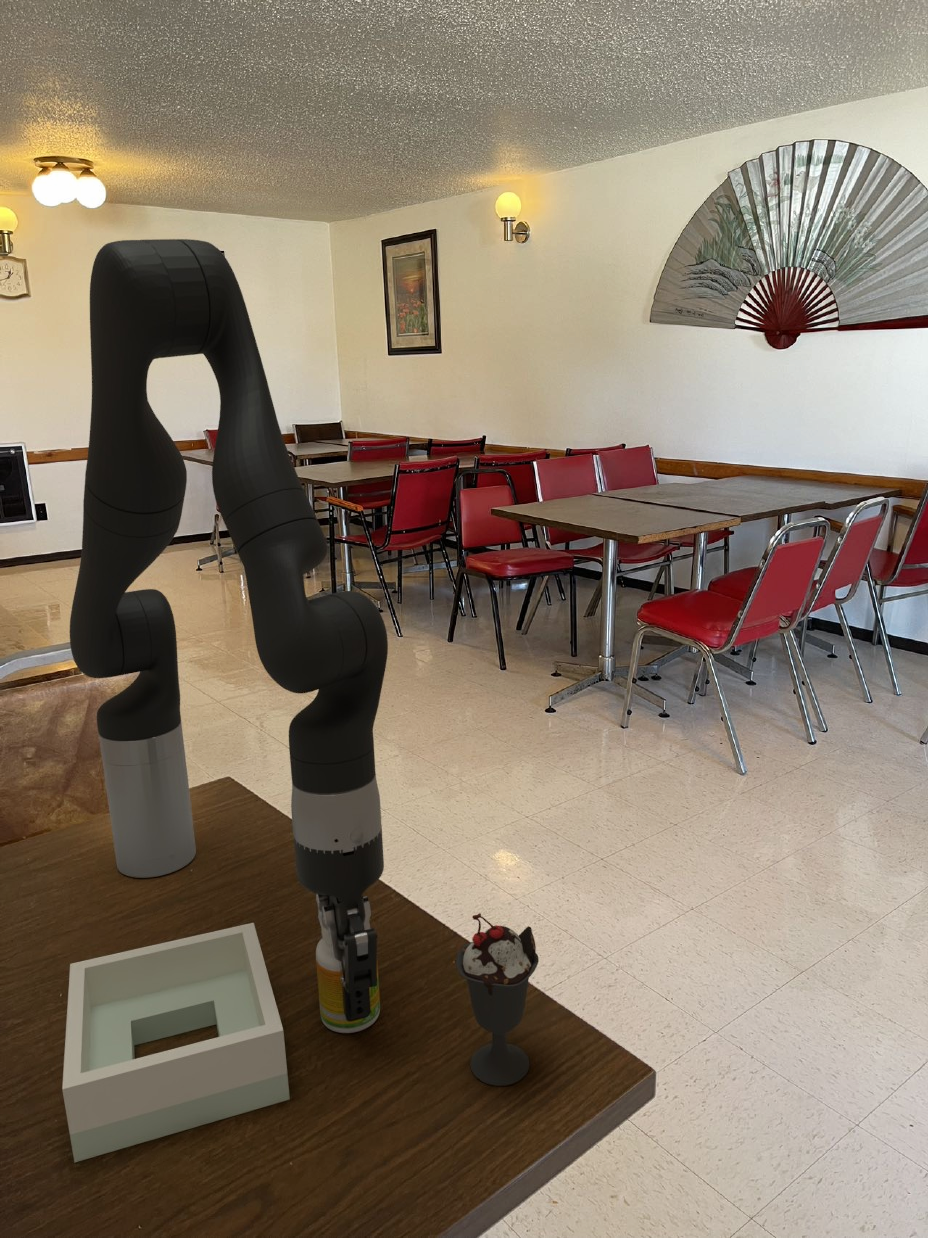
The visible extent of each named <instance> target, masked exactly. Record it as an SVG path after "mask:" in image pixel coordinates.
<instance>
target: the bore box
mask: <svg viewBox="0 0 928 1238" xmlns="http://www.w3.org/2000/svg"><path fill="white" fill-rule="evenodd" d="M263 955H264V954H263V952H262V949H261V944H260V940H259V938H258V934H257V929H256V926H255V923H254V922H251V923H245V924H241V925H237V926H232V927H228V928H224V929H223V928H222V929H220V930H215V931H210V932H206V933H202V934H201V933H200V934H197V935H192V936H188V937H183V938H179V939H178V938H177V939H175V940H170V941H165V942H161V943H157V944H152V945H148V946H144V947H139V948H134V949H129V950H125V951H122V952H118V953H112V954H109V955H108V954H107V955H103V956H99V957H94V958H90V959H86V960H82V961H81V960H80V961H78V962H73V963H70V965H69V976H68V977H69V979H68V981H69V982H68V995H67V1009H66V1010H67V1011H66V1012H67V1013H66V1024H65V1025H66V1026H65V1044H64V1056H63V1073H62V1087H61V1091H62V1096H63V1100H64V1101H63V1102H64V1106H65V1113H66V1120H67V1125H68V1131H69V1132H68V1133H69V1138H70V1144H71V1149H72V1156H73V1161H74V1163H78V1162H81V1161H85V1160H88V1159H91V1158H95V1157H98V1156H102V1155H104V1154H108V1153H112V1152H116V1151H118V1150H123V1149H125V1148H129V1147H132V1146H135V1145H138V1144H142V1143H145V1142H146V1143H147V1142H150V1141H154V1140H157V1139H160V1138H163V1137H166V1136H169V1135H173V1134H176V1133H177V1134H178V1133H180V1132H184V1131H186V1130H190V1129H193V1128H197V1127H201V1126H203V1125H207V1124H210V1123H214V1122H217V1121H220V1120H224V1119H227V1118H232V1117H234V1116H238V1115H242V1114H245V1113H248V1112H252V1111H255V1110H258V1109H262V1108H265V1107H268V1106H272V1105H275V1104H279V1103H282V1102H285V1101H289V1100H291V1099H290V1089H289V1087H290V1086H289V1077H288V1068H287V1067H288V1065H287V1058H286V1057H287V1056H286V1045H285V1035H284V1033H285V1031H284V1027H283V1024H282V1021H281V1016H280V1014H279V1009H278V1006H277V1002H276V1000H275V995H274V991H273V988H272V984H271V982H270V978H269V977H270V976H269V974H268V970H267V967H266V964H265V963H266V962H265V959H264V956H263ZM215 1025H216V1029H217V1035H218V1036H217V1037H213V1038H210V1039H206V1040H205V1039H204V1040H201V1041H198V1042H194V1043H191V1044H187V1045H183V1046H179V1047H175V1048H172V1049H168V1050H164V1051H160V1052H157V1053H151V1054H148V1055H145V1056H141V1057H137V1058H135V1057H136V1055H135V1046H138V1045H141V1044H145V1043H149V1042H153V1041H156V1040H160V1039H164V1038H168V1037H172V1036H176V1035H181V1034H184V1033H188V1032H192V1031H196V1030H199V1029H203V1028H207V1027H211V1026H215Z"/></svg>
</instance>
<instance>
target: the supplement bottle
mask: <svg viewBox="0 0 928 1238" xmlns="http://www.w3.org/2000/svg"><path fill="white" fill-rule="evenodd" d="M320 928H321V936H322V938H321V939H319V941H318V943H317V945H316V949H315V961H316V962H315V963H316V976H317V987H318V999H319V1012H320V1013H319V1014H320V1019H321V1021H322V1022H321V1023H323V1025H324V1026H325V1027H326V1028H327V1029H329V1030H331V1031H332V1032H335V1033H340V1034H351V1033H352V1034H353V1033H356V1032H357V1033H358V1032H361V1031H363V1030H366V1029H367V1028H370V1026H372V1025H373V1024H374V1023H375V1022H376V1021H377V1019H378V1018H379V1015H380V1011H381V997H380V996H381V995H380V981H379V968H378V967H379V966H378V965H379V964H378V962H377V986H375V987H369V993H370V1009H371V1013H370V1015H369V1016H368V1017H366V1018H363V1019H359V1020H355V1021H351V1022H349V1021H347V1020H346V1017H345V1015H344V1005H343V991H342V983H341V982H340V977H341V974H340V967H339V961H338V960H336V959H335V958H334V957H333V956H332V953H331V946H330V939H329V932H328V926H327V925H326V924H325V923H324V918H323V919H322V922H321V925H320ZM343 942H344V941H340V940H338V945H339V947H344V945H343Z"/></svg>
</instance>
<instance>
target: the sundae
mask: <svg viewBox="0 0 928 1238" xmlns="http://www.w3.org/2000/svg"><path fill="white" fill-rule="evenodd" d="M471 917H472V919H473V920H474V921H475V920H476V921H478V930H477V932H476V933H474V934H473V936H472V939H471V940H472V941H471V942H469V943H467V944H464V945H463V946H461V948H460V949H459V951H458V953H457V955H456V969H457V972H458V974H459V975H460V976H461V978H463V979H465V980H466V982H467V985H468V990H469V996H470V1001H471V1008H472V1011H473V1015H474V1019H475V1021H476V1022H477V1023H476V1024H478V1025H479V1026H480V1027H481V1028H483V1029H484V1030H485V1031H486V1032H489V1033H491V1034H492V1035H491V1037H492V1042H490V1043H487V1044H485V1045H483V1046H481V1047H478V1049H477V1050H476V1051H475V1052H474V1053H473V1054H472V1057H471V1058H470V1060H469V1061H470V1063H469V1064H470V1065H469V1066H470V1071H471V1072H472V1074H473V1075H474V1076H475V1078H476V1079H478V1080H479V1081H480V1082H483V1083H484V1084H487V1085H490V1086H494V1087H504V1086H505V1087H506V1086H510V1085H513V1084H515V1083H517V1082H519V1081H521V1080H522V1079H523V1078H524V1077H526V1075H527V1073H528V1071H529V1069H530V1060H529V1057H528V1055H527V1053H526V1052H525V1051H524V1050H523V1049H522V1048H520V1047H518V1046H517V1045H514V1044H511V1043H508V1042H507V1033H510V1032H511V1031H512V1030H514V1029H515V1028H516V1027H517V1026H518V1025H519V1024H520V1023H521V1021H522V1019H523V1015H524V1011H525V1007H526V1001H527V993H528V987H529V979H530V977H531V976H532V975H533V974H534V973H535V970H536V969H537V967H538V964H539V962H540V961H539V959H540V958H539V956H538V953H537V952H536V950H537V949H536V948H537V946H536V940H535V938H534V935H533V929H532V927H531V926H529V925H528V926H527V927H525V929H524V930H523V931H522V932H521V933H520V934H518V933H517V932H516V931H514V930H513V929H512V928H510V927H507V926H505V925H493V924H492V923H491V922H490V921H488V920H487V919H486V918H485V917H484V916H482V914H481V913H480V912H479V913H478V914H473V915H472V916H471ZM480 919H482V920H483V921H484V922H485V923H487V924H488V925H489V926H490V927H489V928H488V929H487V930H485V931H484V932H483V931H481V929H482V928H481V927H482V923H481V920H480Z"/></svg>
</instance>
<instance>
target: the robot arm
mask: <svg viewBox="0 0 928 1238" xmlns="http://www.w3.org/2000/svg"><path fill="white" fill-rule="evenodd" d="M90 274H91V275H90V283H89V330H90V332H89V333H90V337H89V338H90V360H91V407H90V409H91V411H90V426H89V439H88V440H89V441H88V450H87V460H86V466H85V474H84V476H85V477H84V488H83V489H84V490H83V499H82V500H83V503H82V505H83V512H82V514H83V515H82V516H83V517H82V538H81V539H82V540H81V554H80V561H79V563H80V564H79V568H78V575H77V580H76V586H75V589H74V594H73V600H72V606H71V611H70V612H71V613H70V618H69V644H70V651H71V655H72V658H73V662H74V663H75V665H76V668H78V670H79V671H80V672H81V673H82V674H83V675H85V676H86V677H88V678H92V679H106V678H107V679H108V678H117V677H120V676H125V675H130V674H134V673H138V675H137V677H136V678H135V679H134V680H133V682H131V683H130V684H129V686H127V687H126V688H125V689H123V690H121V691H120V692H119V693H117V694H116V695H114V696H112V697H111V698H109V699H108V700H106V701H105V702H103V703H102V704H101V705H100V706H99V708H98V710H97V711H96V724H97V732H98V738H99V746H100V754H101V760H102V768H103V774H104V781H105V790H106V795H107V803H108V809H109V811H108V812H109V818H110V825H111V834H112V840H113V847H114V855H115V862H116V868H117V870H118V871H119V872H120V873H121V874H122V875H125V876H128V877H131V878H142V879H143V878H146V879H147V878H154V877H160V876H164V875H168V874H171V873H173V872H177V871H178V870H180V869H182V868H184V867H185V866H187V865H189V863H191V862H192V861H193V860H194V859H195V857H196V853H197V849H196V840H195V839H196V838H195V829H194V820H193V811H192V802H191V801H192V800H191V793H190V785H189V777H188V769H187V768H188V767H187V761H186V749H185V744H184V742H185V741H184V733H183V723H182V716H181V715H182V714H181V692H180V689H181V688H180V678H179V666H178V663H179V662H178V641H177V629H176V623H175V618H174V613H173V610H172V607H171V605H170V602H169V601H168V599H167V597H166V596H165V595H164V594H163V592H161V591H160V590H158V589H154V588H148V589H147V588H146V589H139V590H133V591H127V590H128V588H129V587H130V586H131V585H132V584H133V583H134V582H135V581H136V580H137V579H138V578H139V577H140V576H141V575H142V574H143V573H144V572H145V571H146V570H147V569H148V568H149V567H150V566H151V565H152V564H153V563H154V562H155V560H156V559H158V557H159V556H160V555H162V553H163V552H164V551H165V550H166V548H167V547H168V546H169V545H170V543H171V542H172V540H173V539H174V537H175V536H176V533H177V532H178V530H179V527H180V523H181V519H182V513H183V509H184V508H183V507H184V501H185V496H186V491H187V483H188V478H187V477H188V473H187V472H188V471H187V468H186V464H185V460H184V457H183V455H182V454H181V451H180V449H179V448H178V446H177V445H176V443H175V442H174V440H173V438H172V437H171V435H170V434H169V432H168V431H167V429H166V428H165V427H164V425H163V424H162V423H161V421H160V420H159V418H158V416H156V414H155V412H154V410H153V409H152V406H151V405H150V401H149V399H148V391H147V389H148V388H147V386H148V383H147V381H148V376H149V369H150V366H151V364H152V362H153V361H154V360H156V359H157V360H158V359H164V358H174V357H185V356H194V355H204V357H205V359H206V360H207V362H208V364H209V366H210V367H211V370H212V372H213V375H214V377H215V379H216V382H217V385H218V386H217V387H218V390H219V399H220V403H219V405H220V406H219V420H218V426H217V433H216V439H215V445H214V450H213V458H212V463H211V464H212V465H211V466H212V467H211V480H212V481H211V483H212V489H213V490H212V491H213V495H214V499H215V503H216V505H217V508H218V511H219V514H220V516H221V519H222V521H223V523H224V525H225V527H226V529H227V532H228V534H229V536H230V539H231V541H232V543H233V546H234V547H235V550H236V553H237V555H238V557H239V559H240V561H241V563H242V566H243V570H244V574H245V578H246V579H245V580H246V586H247V587H246V588H247V593H248V599H249V606H250V611H251V618H252V625H253V627H252V628H253V632H254V639H255V645H256V650H257V654H258V657H259V660H260V663H261V664H262V666H263V668H264V670H265V672H266V673H267V674H268V676H269V677H270V678H271V679H272V680H273V681H274V682H275V683H276V684H277V685H278V686H280V687H281V688H283V689H284V690H286V691H288V692H290V693H294V694H300V695H301V694H307V693H312V692H314V691H315V692H316V691H317V693H316V696H315V697H314V698H313V700H312V701H311V702H310V703H308V705H306V706H305V707H304V708H302V709H301V710H300V711H299V712H297V713H296V715H295V716H294V717H293V718H292V719H291V721H290V723H289V727H288V749H289V761H290V762H289V763H290V775H291V797H290V798H291V799H290V801H291V803H290V808H291V809H290V810H291V821H292V822H291V823H292V834H293V845H294V859H295V870H296V878H297V881H298V883H299V884H300V885H301V886H302V887H303V888H304V889H305V890H307V891H309V892H310V893H313V894H315V900H316V903H317V911H318V913H317V921H318V923H319V925H320V926H321V922H322V919H323V918H324V923H325V924H326V925H327V926H328V932H329V939H330V946H331V953H332V956H333V957H334V958H335V959H336V960H338V961H339V967H340V974H341V977H340V982H341V983H342V991H343V1005H344V1015H345V1017H346V1020H347V1021H349V1022H351V1021H355V1020H359V1019H363V1018H366V1017H368V1016H369V1015H370V1013H371V1009H370V993H369V987H375V986H377V963H378V932H377V931H376V930H375V928H371V924H370V918H371V917H372V916H371V915H372V911H371V905H370V899H369V897H368V895H367V896H363V894H364V893H365V891H366V890H367V889H369V888H370V887H371V886H373V885H374V884H375V883H376V882H378V881H379V879H380V878H381V877H382V875H383V872H384V868H385V864H384V863H385V861H384V860H385V859H384V844H383V843H384V842H383V828H382V825H383V824H382V811H381V810H382V809H381V808H382V807H381V798H380V797H381V796H380V790H379V787H378V781H377V780H378V779H377V773H376V759H375V741H374V726H375V725H374V724H375V721H376V716H377V714H378V713H377V712H378V709H379V706H380V705H379V704H380V700H381V699H380V698H381V694H382V687H383V683H384V679H385V672H386V668H387V667H386V666H387V661H388V650H389V643H388V634H387V628H386V624H385V620H384V618H383V616H382V614H381V612H380V611H379V609H378V607H377V606H376V605H375V603H374V602H373V601H372V600H371V599H370V598H368V596H366V595H364V594H363V593H361V592H358V591H355V590H346V591H345V590H344V591H343V590H342V591H337V592H333V593H330V594H327V595H323V596H319V597H316V598H311V599H309V600H308V597H307V594H306V588H305V580H304V579H305V577H304V575H306V574H308V573H309V572H311V571H312V570H313V569H316V568H317V567H318V566H319V565H321V564H322V563H323V561H324V560H325V558H326V557H327V554H328V542H327V540H326V536H325V534H324V532H323V529H322V526H321V524H320V522H319V521H318V518H317V515H316V513H315V510H314V508H313V506H312V505H311V504H312V503H311V502H310V499H309V497H308V495H307V493H306V491H305V488H304V486H303V485H302V481H301V480H300V477H299V476H298V473H297V471H296V469H295V466H294V464H293V461H292V458H291V457H290V454H289V450H288V448H287V445H286V443H285V440H284V438H283V434H282V430H281V428H280V425H279V421H278V418H277V417H278V416H277V413H276V410H275V406H274V402H273V399H272V398H273V397H272V395H271V392H270V387H269V383H268V379H267V375H266V372H265V368H264V365H263V362H262V358H261V354H260V350H259V347H258V344H257V339H256V336H255V332H254V330H253V326H252V322H251V318H250V315H249V311H248V308H247V305H246V302H245V298H244V296H243V293H242V290H241V287H240V284H239V282H238V279H237V277H236V275H235V273H234V270H233V268H232V266H231V264H230V263H229V261H228V259H227V258H226V256H225V255H224V254H223V252H222V251H221V250H220V249H219V248H218V247H216V246H215V245H214V244H212V243H211V242H208V241H204V240H200V239H199V240H198V239H192V238H191V239H190V238H189V239H188V238H185V239H183V238H182V239H181V238H180V239H179V238H173V239H172V238H161V239H155V238H154V239H122V240H116V241H111V242H110V241H109V242H108V243H106V244H104V245H103V246H102V247H101V248H99V250H98V252H97V254H96V256H95V258H94V261H93V265H92V270H91V273H90ZM338 940H340V941H344V942H343V945H344V947H339V945H338Z"/></svg>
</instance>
